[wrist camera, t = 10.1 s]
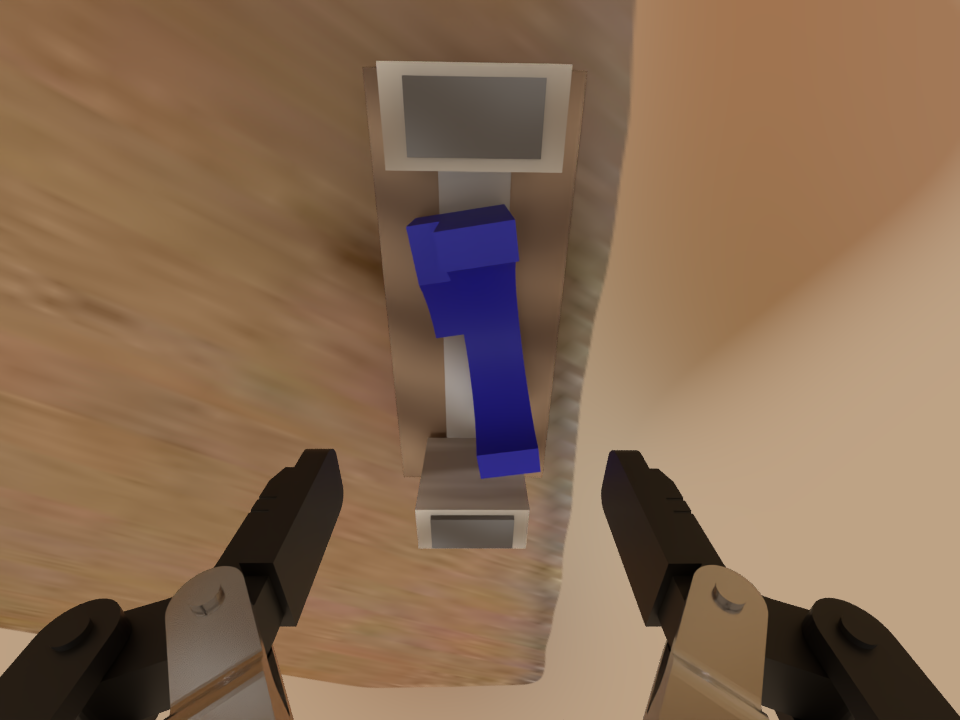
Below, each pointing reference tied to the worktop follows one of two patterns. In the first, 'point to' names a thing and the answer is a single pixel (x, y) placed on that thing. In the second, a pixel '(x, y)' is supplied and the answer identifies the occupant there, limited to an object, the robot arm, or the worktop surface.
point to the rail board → (539, 272)
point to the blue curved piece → (481, 325)
